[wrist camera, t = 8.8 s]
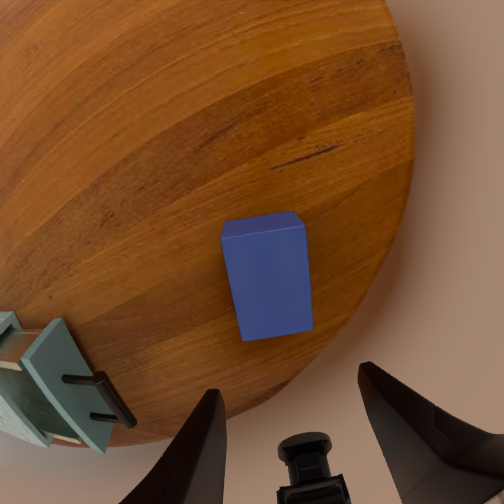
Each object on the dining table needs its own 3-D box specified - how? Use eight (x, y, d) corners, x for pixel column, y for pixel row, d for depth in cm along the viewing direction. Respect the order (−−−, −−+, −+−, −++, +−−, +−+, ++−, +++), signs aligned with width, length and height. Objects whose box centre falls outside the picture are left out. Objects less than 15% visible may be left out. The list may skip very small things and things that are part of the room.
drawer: (105, 314, 19) (73, 362, 14) (158, 414, 24) (148, 460, 18) (-15, 320, 20) (-42, 348, 14) (35, 399, 24) (18, 429, 19)
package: (293, 210, 18) (305, 224, 15) (302, 302, 21) (313, 330, 17) (223, 221, 18) (219, 238, 15) (241, 312, 21) (242, 342, 17)
